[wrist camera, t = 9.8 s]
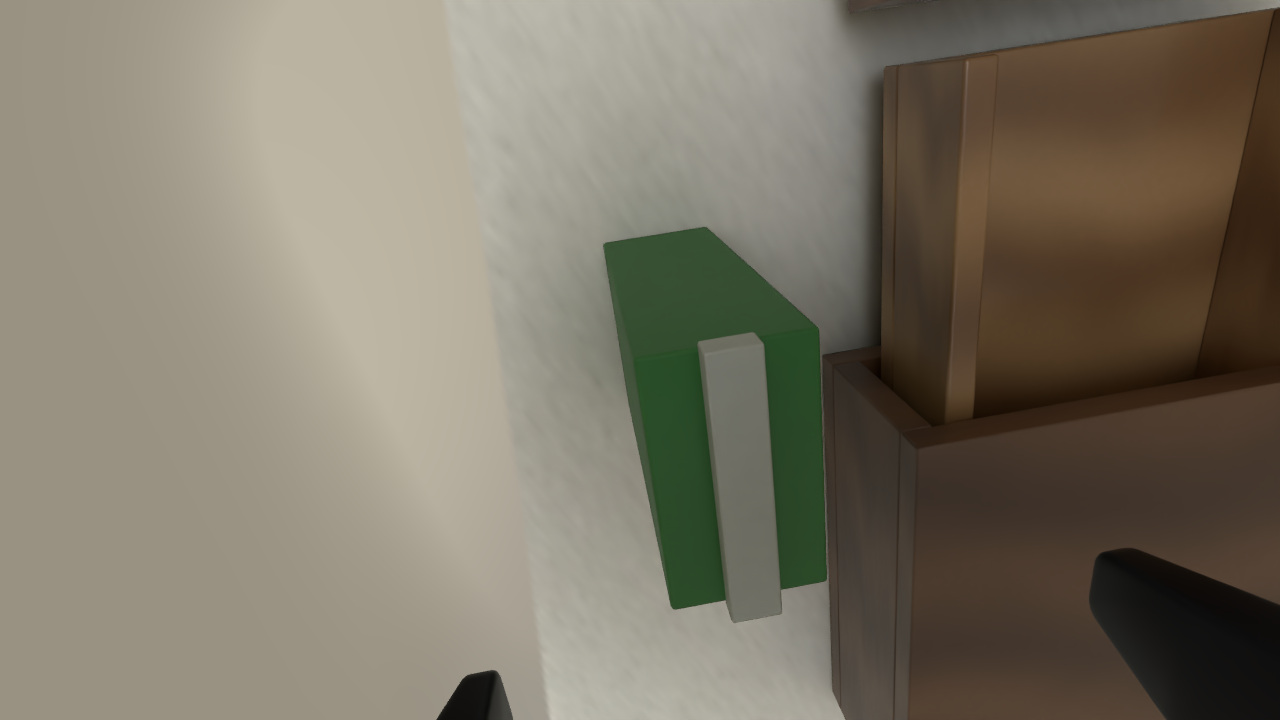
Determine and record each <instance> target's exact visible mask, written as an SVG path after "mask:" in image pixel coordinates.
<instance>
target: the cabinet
mask: <svg viewBox="0 0 1280 720" xmlns="http://www.w3.org/2000/svg"><path fill="white" fill-rule="evenodd" d="M823 379H824V413H825V446H826V480H827V514H828V548H829V582H830V616H831V650H832V684H833V693H834V695H835V698H836V700H837V702H838V704H839V707H840V708H841V711H842V713H843V715H844V717H845V719H846V720H1166V719H1165V717H1164V716H1163V715H1162V713H1161V712H1160V711H1159V709H1158V708H1157V706H1156V705H1155V704H1154V702H1153V701H1152V699H1151V698H1150V696H1149V695H1148V694H1147V692H1146V691H1145V689H1144V688H1143V686H1142V685H1141V684H1140V682H1139V681H1138V679H1137V678H1136V676H1135V675H1134V674H1133V672H1132V671H1131V669H1130V668H1129V666H1128V665H1127V664H1126V662H1125V661H1124V659H1123V658H1122V657H1121V655H1120V654H1119V652H1118V651H1117V649H1116V648H1115V647H1114V645H1113V644H1112V642H1111V641H1110V639H1109V638H1108V637H1107V635H1106V634H1105V632H1104V631H1103V629H1102V628H1101V627H1100V625H1099V624H1098V622H1097V621H1096V619H1095V618H1094V616H1093V614H1092V612H1091V609H1090V606H1089V592H1090V586H1091V580H1092V574H1093V569H1094V563H1095V559H1096V557H1097V556H1098V555H1099V554H1100V553H1102V552H1105V551H1110V550H1115V549H1120V548H1135V549H1138V550H1141V551H1143V552H1146V553H1148V554H1151V555H1154V556H1156V557H1159V558H1161V559H1164V560H1166V561H1169V562H1172V563H1174V564H1177V565H1179V566H1182V567H1184V568H1187V569H1189V570H1192V571H1195V572H1197V573H1200V574H1202V575H1205V576H1207V577H1210V578H1213V579H1215V580H1218V581H1220V582H1223V583H1225V584H1228V585H1231V586H1233V587H1236V588H1238V589H1241V590H1243V591H1246V592H1249V593H1251V594H1254V595H1256V596H1259V597H1261V598H1264V599H1267V600H1269V601H1272V602H1274V603H1277V604H1279V605H1280V364H1279V365H1274V366H1268V367H1262V368H1257V369H1251V370H1246V371H1240V372H1235V373H1229V374H1223V375H1218V376H1212V377H1207V378H1201V379H1195V380H1190V381H1184V382H1179V383H1173V384H1168V385H1162V386H1156V387H1151V388H1145V389H1140V390H1134V391H1129V392H1123V393H1117V394H1112V395H1106V396H1101V397H1095V398H1089V399H1084V400H1078V401H1073V402H1067V403H1062V404H1056V405H1050V406H1045V407H1039V408H1034V409H1028V410H1022V411H1017V412H1011V413H1006V414H1000V415H995V416H989V417H983V418H978V419H972V420H967V421H961V422H956V423H950V424H944V425H939V426H933V427H932V426H931V424H930V423H928V422H927V421H926V420H925V419H924V418H923V417H922V416H921V415H919V414H918V413H917V412H916V411H915V410H914V409H913V408H911V407H910V406H909V405H908V404H907V403H906V402H905V401H904V400H902V399H901V398H900V397H899V396H898V395H897V394H896V393H895V392H893V391H892V390H891V389H890V388H889V387H888V386H887V385H886V384H884V383H883V382H882V381H881V345H879V346H873V347H867V348H862V349H856V350H850V351H844V352H838V353H833V354H827V355H823Z"/></svg>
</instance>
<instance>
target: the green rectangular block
mask: <svg viewBox="0 0 1280 720" xmlns="http://www.w3.org/2000/svg"><path fill="white" fill-rule="evenodd" d="M603 247H604V253H605V259H606V266H607V272H608V278H609V284H610V290H611V296H612V303H613V309H614V315H615V321H616V327H617V333H618V340H619V346H620V352H621V358H622V364H623V371H624V377H625V383H626V389H627V395H628V401H629V407H630V412H631V416H632V421H633V426H634V431H635V436H636V440H637V445H638V450H639V455H640V460H641V465H642V469H643V474H644V479H645V484H646V489H647V494H648V498H649V503H650V508H651V513H652V518H653V522H654V527H655V532H656V537H657V542H658V547H659V551H660V556H661V561H662V566H663V571H664V575H665V580H666V585H667V590H668V595H669V600H670V604H671V607H672V608H673V609H675V610H676V609H681V608H687V607H692V606H697V605H703V604H708V603H713V602H718V601H724V600H726V604H727V607H728V610H729V613H730V617H731V620H732V621H733V623H737V622H742V621H747V620H753V619H758V618H763V617H768V616H774V615H779V614H781V613H782V601H781V590H782V589H787V588H793V587H798V586H803V585H809V584H814V583H819V582H824V581H826V579H827V565H826V533H825V501H824V469H823V437H822V405H821V373H820V341H819V329H818V327H817V326H816V325H815V324H813V323H812V322H811V321H810V320H809V319H808V318H807V317H806V316H805V315H803V314H802V313H801V312H800V311H799V310H798V309H797V308H796V307H795V306H793V305H792V304H791V303H790V302H789V301H788V300H787V299H786V298H785V297H783V296H782V295H781V294H780V293H779V292H778V291H777V290H776V289H775V288H774V287H772V286H771V285H770V284H769V283H768V282H767V281H766V280H765V279H764V278H762V277H761V276H760V275H759V274H758V273H757V272H756V271H755V270H754V269H752V268H751V267H750V266H749V265H748V264H747V263H746V262H745V261H744V260H742V259H741V258H740V257H739V256H738V255H737V254H736V253H735V252H734V251H732V250H731V249H730V248H729V247H728V246H727V245H726V244H725V243H724V242H722V241H721V240H720V239H719V238H718V237H717V236H716V235H715V234H714V233H713V232H711V231H710V230H709V229H708V228H707V227H702V228H696V229H689V230H683V231H677V232H671V233H665V234H658V235H652V236H646V237H640V238H633V239H627V240H621V241H615V242H609V243H605V244H604V246H603Z"/></svg>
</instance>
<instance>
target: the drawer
mask: <svg viewBox="0 0 1280 720" xmlns="http://www.w3.org/2000/svg"><path fill="white" fill-rule="evenodd" d="M930 1H937V0H848V11H849V13H855V12H862V11H869V10H876V9H883V8H890V7H896V6H903V5H910V4H917V3H924V2H930ZM1279 364H1280V7H1278V8H1270V9H1264V10H1257V11H1251V12H1244V13H1237V14H1231V15H1224V16H1217V17H1211V18H1204V19H1198V20H1191V21H1184V22H1178V23H1171V24H1165V25H1158V26H1151V27H1145V28H1138V29H1131V30H1125V31H1118V32H1112V33H1105V34H1098V35H1092V36H1085V37H1078V38H1072V39H1065V40H1059V41H1052V42H1045V43H1039V44H1032V45H1025V46H1019V47H1012V48H1006V49H999V50H992V51H986V52H979V53H972V54H966V55H959V56H953V57H946V58H939V59H933V60H926V61H920V62H913V63H906V64H900V65H893V66H887V67H885V68H884V110H883V222H882V335H881V381H882V382H883V383H884V384H886V385H887V386H888V387H889V388H890V389H891V390H892V391H893V392H895V393H896V394H897V395H898V396H899V397H900V398H901V399H902V400H904V401H905V402H906V403H907V404H908V405H909V406H910V407H911V408H913V409H914V410H915V411H916V412H917V413H918V414H919V415H921V416H922V417H923V418H924V419H925V420H926V421H927V422H928V423H930V424H931V426H932V427H933V426H939V425H944V424H950V423H956V422H961V421H967V420H972V419H978V418H983V417H989V416H995V415H1000V414H1006V413H1011V412H1017V411H1022V410H1028V409H1034V408H1039V407H1045V406H1050V405H1056V404H1062V403H1067V402H1073V401H1078V400H1084V399H1089V398H1095V397H1101V396H1106V395H1112V394H1117V393H1123V392H1129V391H1134V390H1140V389H1145V388H1151V387H1156V386H1162V385H1168V384H1173V383H1179V382H1184V381H1190V380H1195V379H1201V378H1207V377H1212V376H1218V375H1223V374H1229V373H1235V372H1240V371H1246V370H1251V369H1257V368H1262V367H1268V366H1274V365H1279Z"/></svg>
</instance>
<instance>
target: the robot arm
mask: <svg viewBox="0 0 1280 720" xmlns="http://www.w3.org/2000/svg"><path fill="white" fill-rule="evenodd" d="M1089 606H1090V609H1091V612H1092V614H1093V616H1094V618H1095V619H1096V621H1097V622H1098V624H1099V625H1100V627H1101V628H1102V629H1103V631H1104V632H1105V634H1106V635H1107V637H1108V638H1109V639H1110V641H1111V642H1112V644H1113V645H1114V647H1115V648H1116V649H1117V651H1118V652H1119V654H1120V655H1121V657H1122V658H1123V659H1124V661H1125V662H1126V664H1127V665H1128V666H1129V668H1130V669H1131V671H1132V672H1133V674H1134V675H1135V676H1136V678H1137V679H1138V681H1139V682H1140V684H1141V685H1142V686H1143V688H1144V689H1145V691H1146V692H1147V694H1148V695H1149V696H1150V698H1151V699H1152V701H1153V702H1154V704H1155V705H1156V706H1157V708H1158V709H1159V711H1160V712H1161V713H1162V715H1163V716H1164V717H1165V719H1166V720H1280V605H1279V604H1277V603H1274V602H1272V601H1269V600H1267V599H1264V598H1261V597H1259V596H1256V595H1254V594H1251V593H1249V592H1246V591H1243V590H1241V589H1238V588H1236V587H1233V586H1231V585H1228V584H1225V583H1223V582H1220V581H1218V580H1215V579H1213V578H1210V577H1207V576H1205V575H1202V574H1200V573H1197V572H1195V571H1192V570H1189V569H1187V568H1184V567H1182V566H1179V565H1177V564H1174V563H1172V562H1169V561H1166V560H1164V559H1161V558H1159V557H1156V556H1154V555H1151V554H1148V553H1146V552H1143V551H1141V550H1138V549H1135V548H1120V549H1115V550H1110V551H1105V552H1102V553H1100V554H1099V555H1098V556H1097V557H1096V559H1095V563H1094V569H1093V574H1092V580H1091V586H1090V592H1089ZM437 720H513V717H512V713H511V709H510V706H509V702H508V700H507V696H506V693H505V690H504V686H503V683H502V680H501V677H500V675H499V674H498V672H497V671H495V670H490V671H485V672H480V673H475V674H470V675H467V676H466V677H465V678H464V679H462V681H461V682H460V684H459V685H458V687H457V688H456V690H455V692H454V693H453V695H452V696H451V698H450V699H449V701H448V702H447V704H446V706H445V707H444V709H443V710H442V712H441V713H440V715H439V716H438V718H437Z"/></svg>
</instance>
